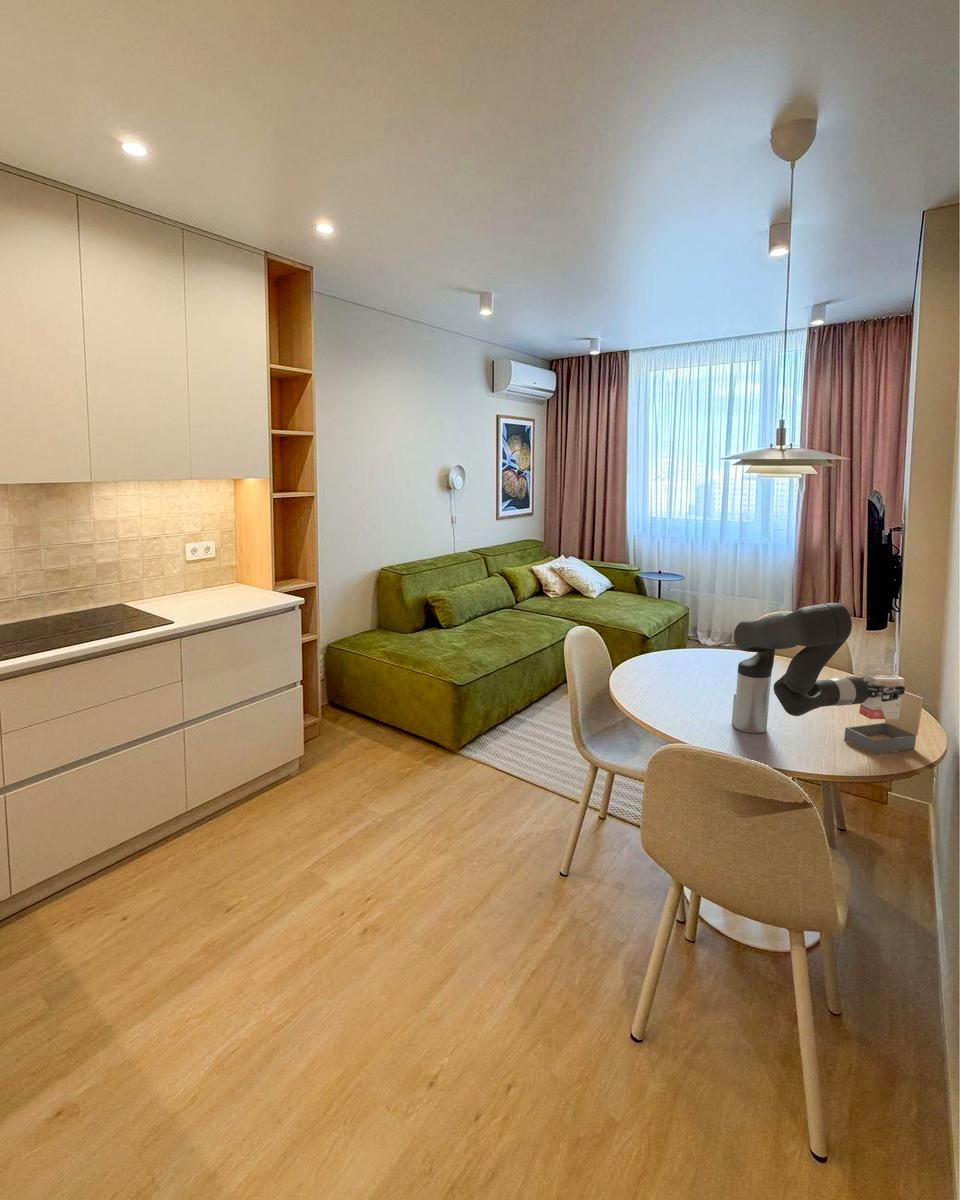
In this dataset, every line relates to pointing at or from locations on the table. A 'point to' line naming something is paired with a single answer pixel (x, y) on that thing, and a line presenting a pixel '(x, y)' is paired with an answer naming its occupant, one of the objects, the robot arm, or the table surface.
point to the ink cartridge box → (875, 706)
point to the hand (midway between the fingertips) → (893, 686)
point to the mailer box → (889, 730)
